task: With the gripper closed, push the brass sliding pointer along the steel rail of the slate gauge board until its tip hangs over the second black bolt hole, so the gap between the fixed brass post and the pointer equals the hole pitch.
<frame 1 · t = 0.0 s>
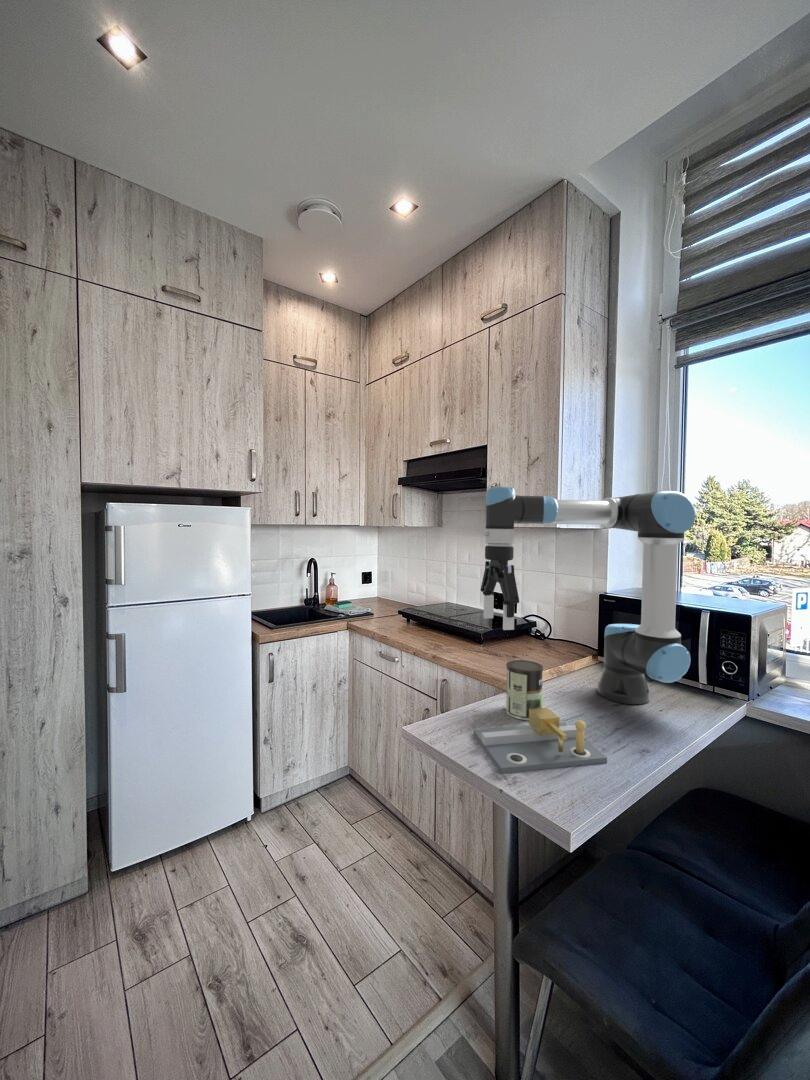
hand: (497, 623, 116), 28 cm above the countertop, fingers open, 13 cm apart
pointer: (550, 729, 105), point 5 cm above the countertop, slide at 0.0 cm
gauge board: (536, 747, 106), on the countertop
coffee can: (523, 713, 126), on the countertop
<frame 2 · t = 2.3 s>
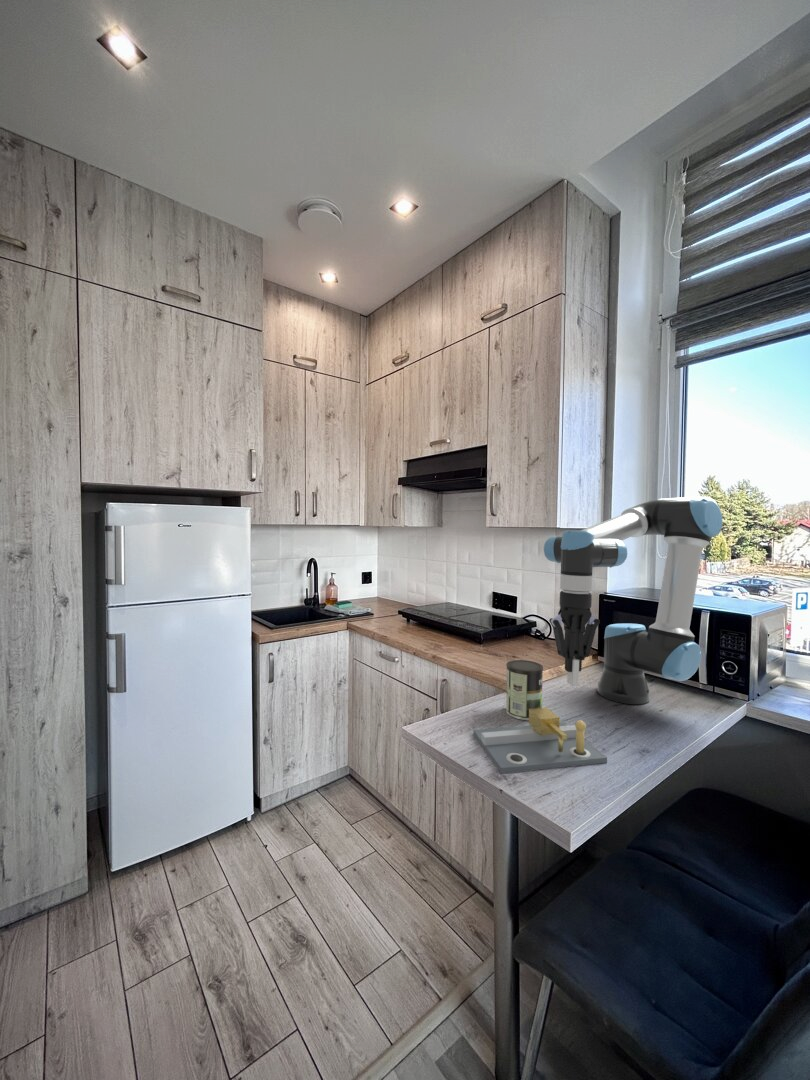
hand: (572, 683, 109), 15 cm above the countertop, fingers closed
nothing on the countertop moved.
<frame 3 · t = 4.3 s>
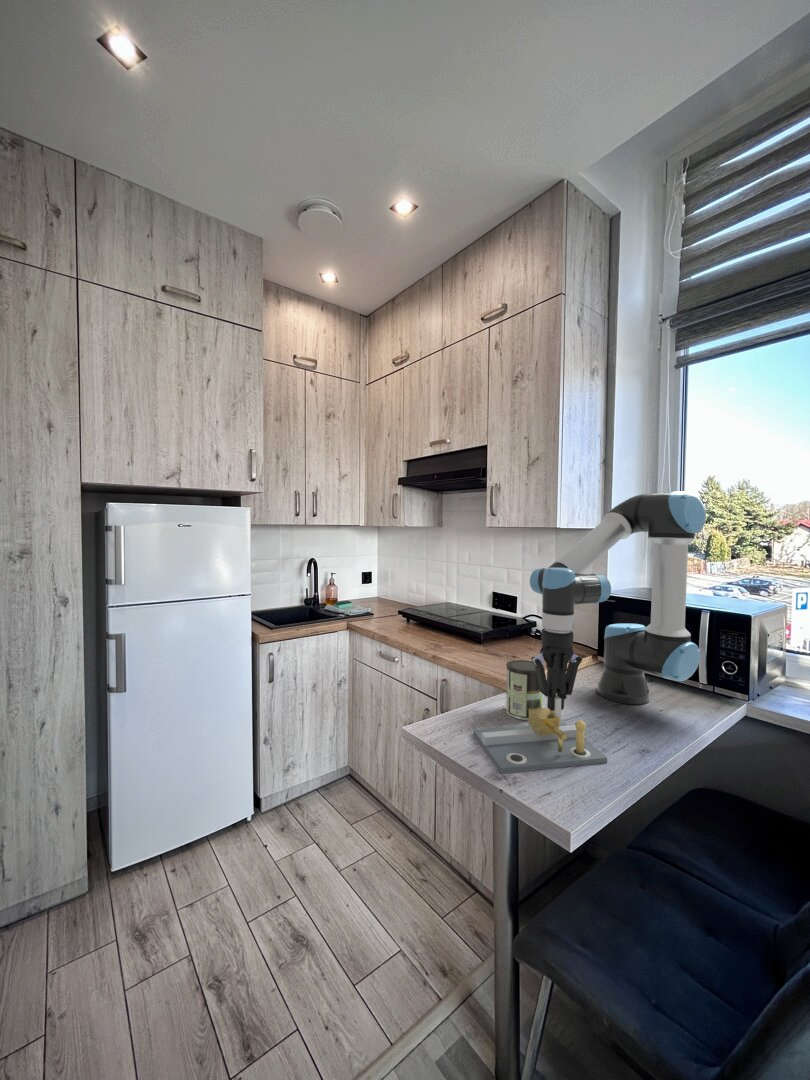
hand: (555, 722, 109), 5 cm above the countertop, fingers closed
pointer: (550, 730, 105), point 5 cm above the countertop, slide at 0.1 cm, touching gripper
everything else where it was.
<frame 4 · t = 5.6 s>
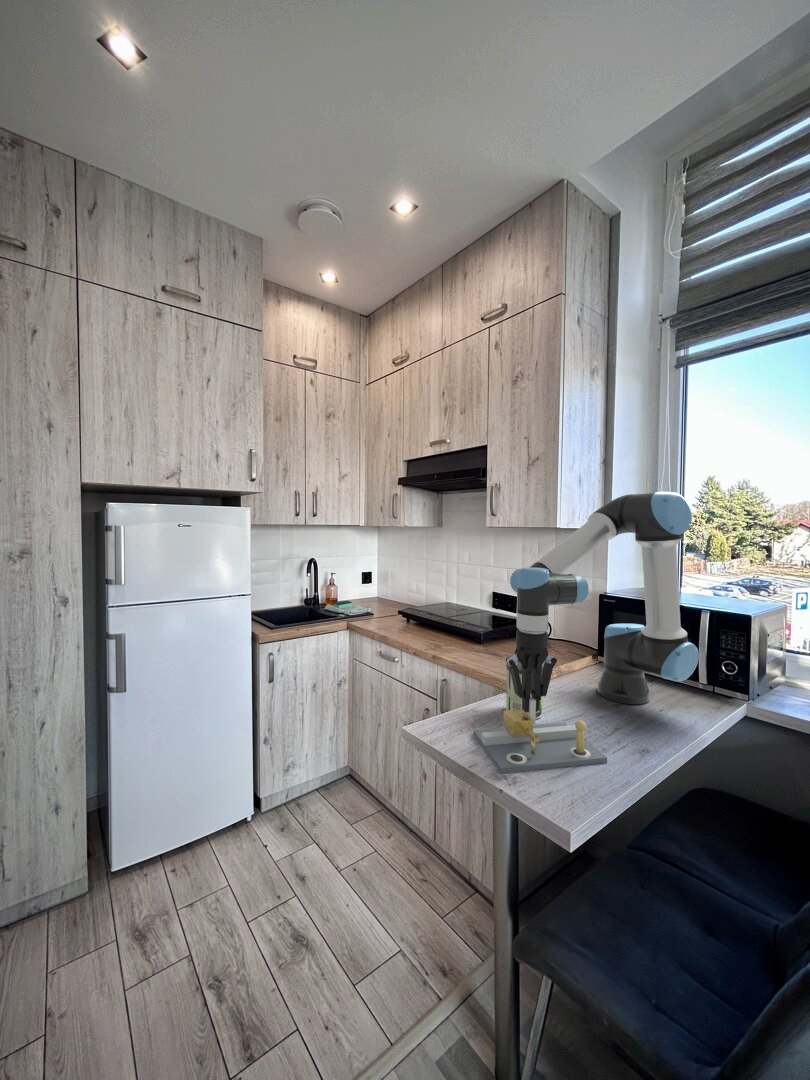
hand: (530, 723, 107), 5 cm above the countertop, fingers closed
pointer: (523, 732, 104), point 5 cm above the countertop, slide at 7.0 cm, touching gripper
everything else where it was.
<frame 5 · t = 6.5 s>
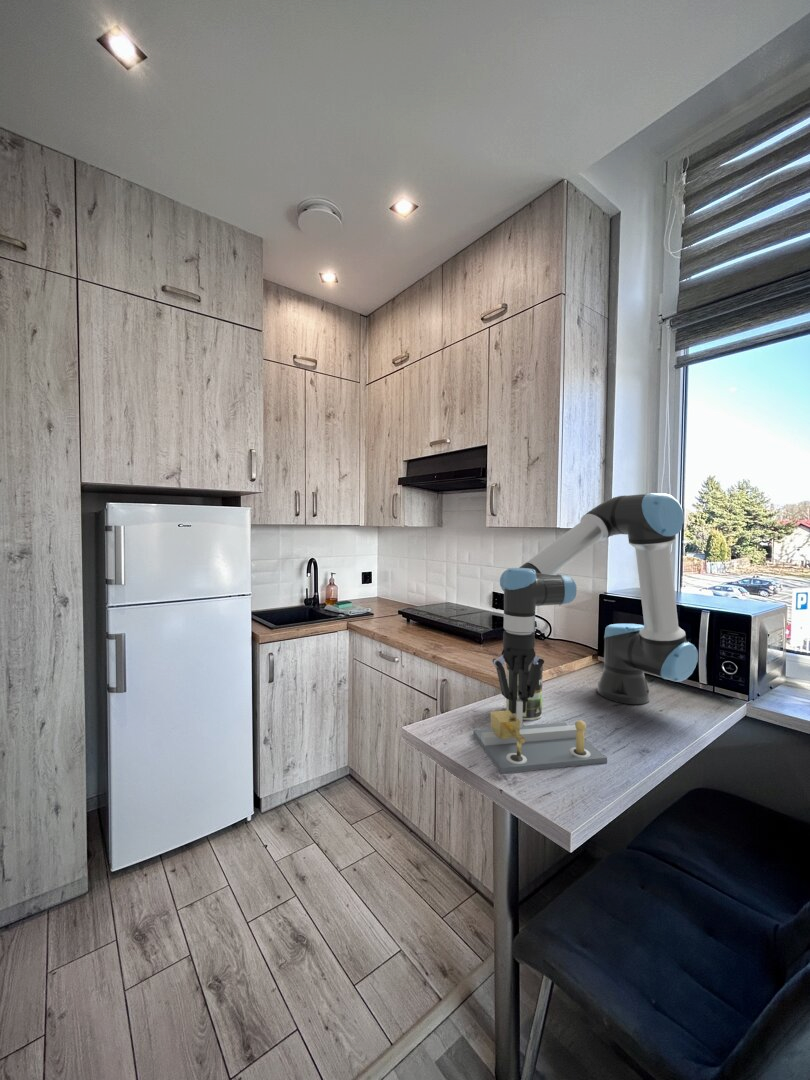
hand: (517, 725, 107), 5 cm above the countertop, fingers closed
pointer: (510, 733, 103), point 5 cm above the countertop, slide at 10.4 cm, touching gripper
everything else where it was.
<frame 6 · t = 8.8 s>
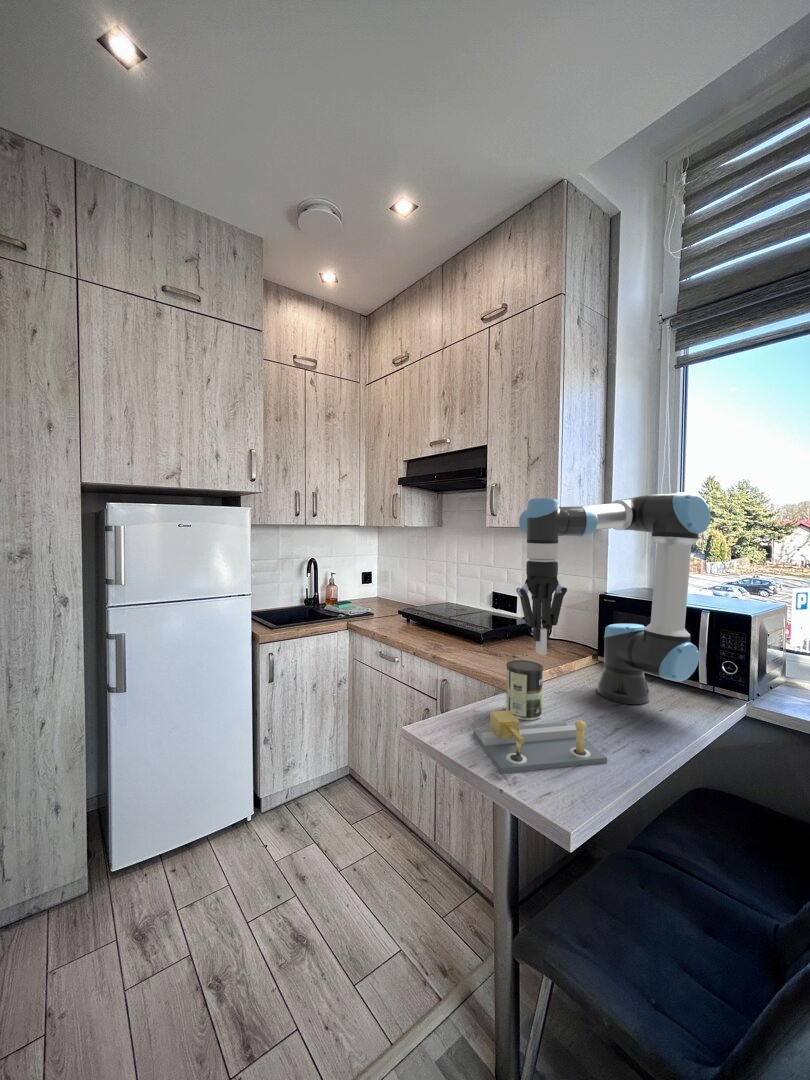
hand: (541, 653, 109), 22 cm above the countertop, fingers closed
pointer: (509, 733, 103), point 5 cm above the countertop, slide at 10.5 cm
everything else where it was.
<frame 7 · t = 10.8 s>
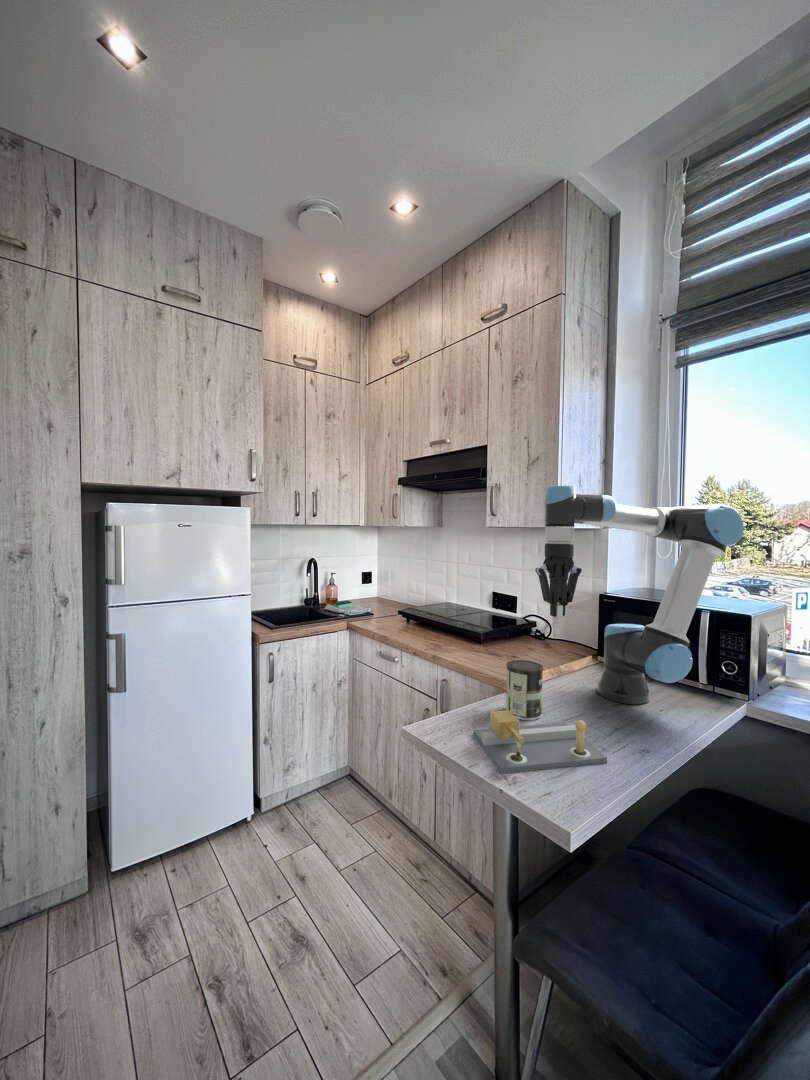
hand: (557, 627, 119), 26 cm above the countertop, fingers closed
nothing on the countertop moved.
at the end: pointer slide at 10.5 cm; pointer 0.5 cm from the target spot, resting on gauge board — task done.
